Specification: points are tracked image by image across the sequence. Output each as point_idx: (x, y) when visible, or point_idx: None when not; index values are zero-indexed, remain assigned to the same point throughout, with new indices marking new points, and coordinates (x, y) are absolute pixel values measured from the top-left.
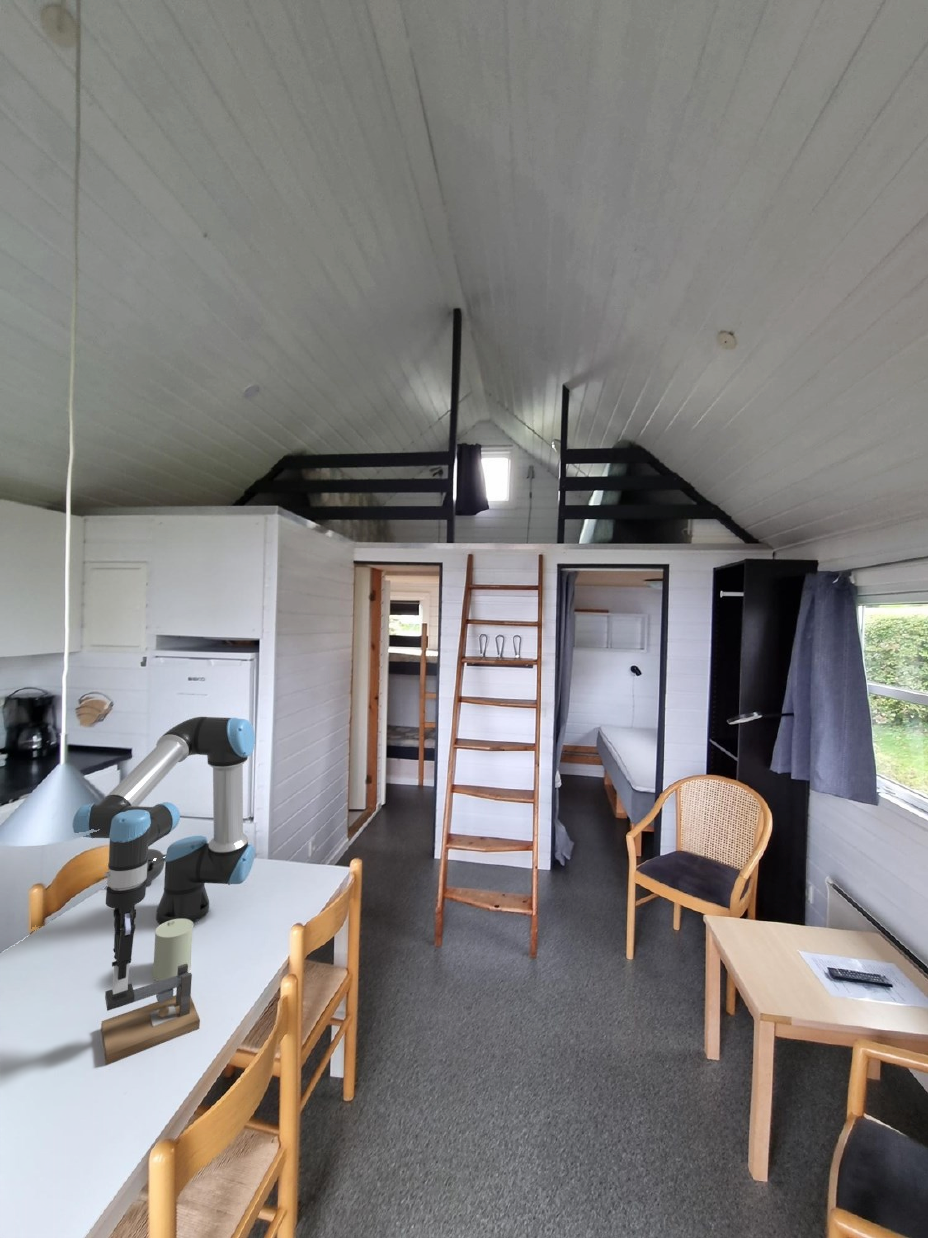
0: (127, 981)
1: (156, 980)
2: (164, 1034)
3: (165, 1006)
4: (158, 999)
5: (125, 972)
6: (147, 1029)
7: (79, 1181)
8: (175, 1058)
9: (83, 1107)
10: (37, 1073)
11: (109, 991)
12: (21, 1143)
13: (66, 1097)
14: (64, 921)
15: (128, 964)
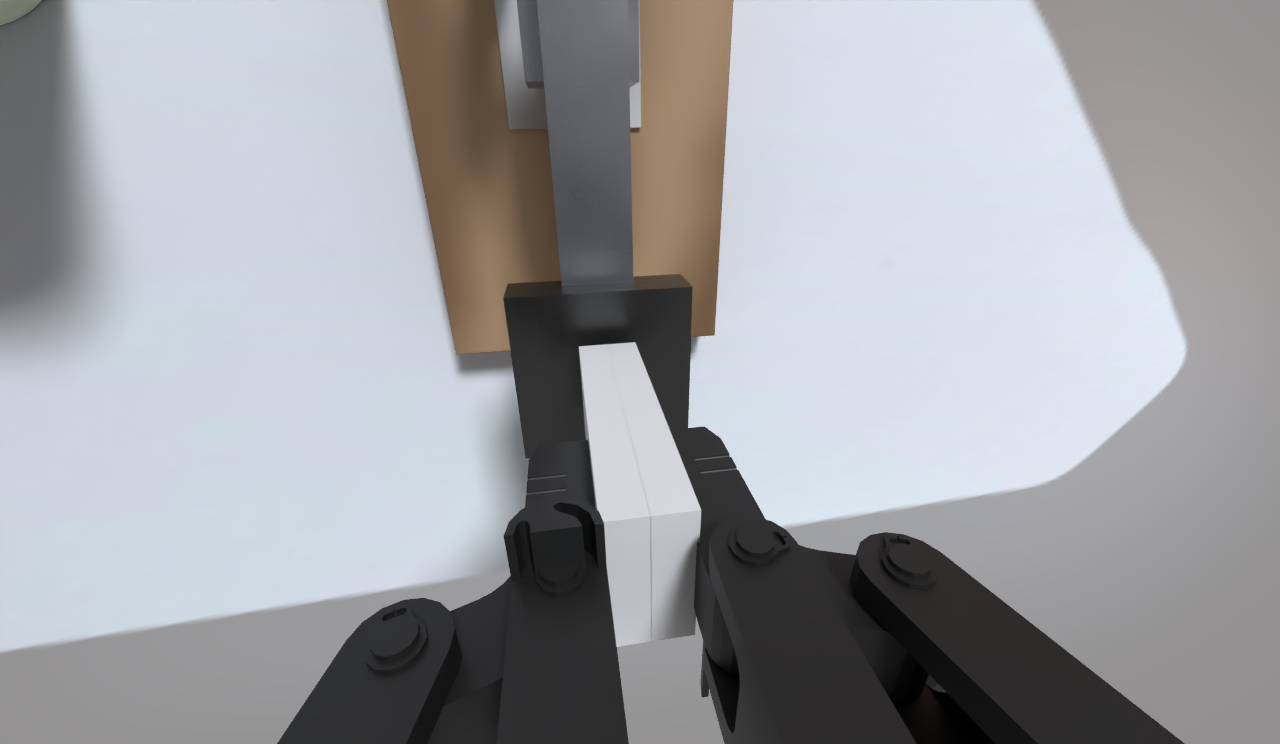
0: (647, 378)
1: (29, 8)
2: (728, 75)
3: None
4: (629, 85)
5: (731, 469)
6: (643, 157)
7: (1076, 378)
8: (854, 48)
9: (848, 380)
10: None
11: (541, 438)
12: (856, 498)
13: (771, 424)
14: None
15: (686, 480)
